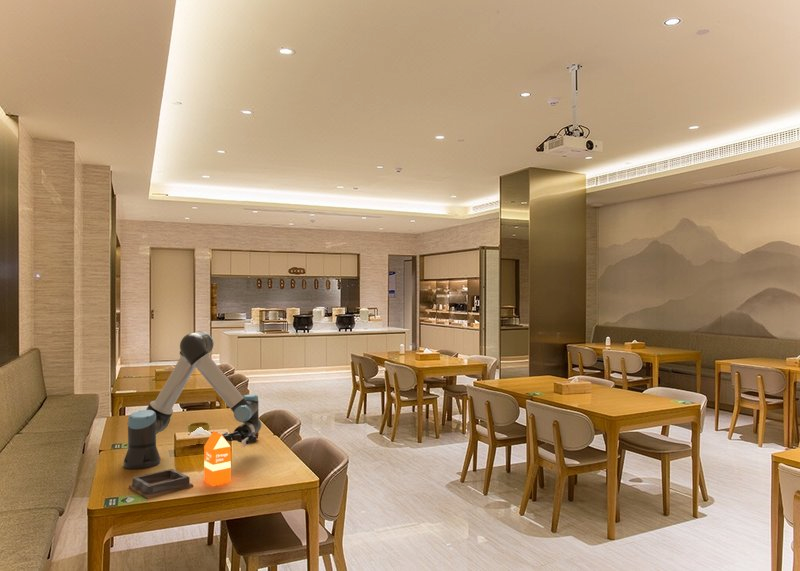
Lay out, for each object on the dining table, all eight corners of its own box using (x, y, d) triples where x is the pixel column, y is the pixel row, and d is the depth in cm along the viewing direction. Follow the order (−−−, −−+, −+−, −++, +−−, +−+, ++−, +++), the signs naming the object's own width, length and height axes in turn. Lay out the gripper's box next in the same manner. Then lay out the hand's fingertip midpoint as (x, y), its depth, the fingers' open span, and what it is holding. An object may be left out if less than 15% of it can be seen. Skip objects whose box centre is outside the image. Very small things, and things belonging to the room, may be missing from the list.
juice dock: (128, 487, 228) (128, 477, 228) (173, 477, 241) (173, 467, 241) (147, 498, 215) (147, 488, 216) (192, 486, 228) (192, 476, 228)
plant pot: (202, 446, 291) (202, 426, 291) (184, 445, 293) (184, 425, 293) (213, 440, 301) (213, 422, 301) (195, 440, 303) (195, 421, 303)
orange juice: (212, 486, 229) (212, 436, 229) (203, 481, 235) (203, 432, 236) (231, 482, 234) (231, 433, 234) (222, 477, 241) (221, 429, 241)
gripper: (270, 440, 265) (255, 453, 244) (218, 440, 267) (198, 453, 246) (270, 424, 265) (255, 435, 244) (217, 424, 267) (198, 435, 246)
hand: (226, 444), depth 245 cm, fingers open, 13 cm apart
